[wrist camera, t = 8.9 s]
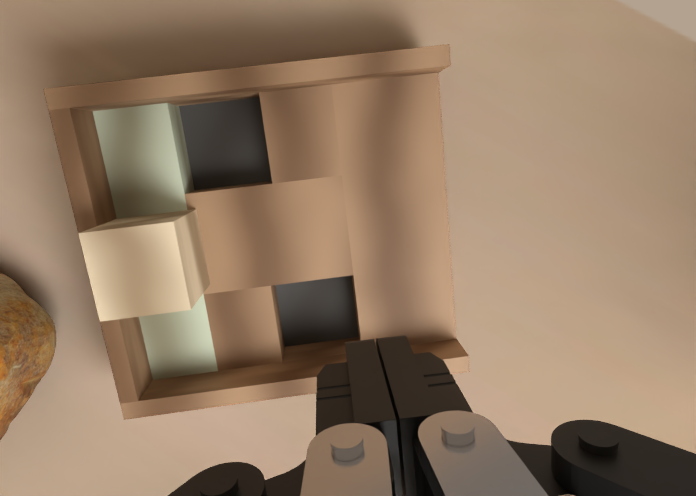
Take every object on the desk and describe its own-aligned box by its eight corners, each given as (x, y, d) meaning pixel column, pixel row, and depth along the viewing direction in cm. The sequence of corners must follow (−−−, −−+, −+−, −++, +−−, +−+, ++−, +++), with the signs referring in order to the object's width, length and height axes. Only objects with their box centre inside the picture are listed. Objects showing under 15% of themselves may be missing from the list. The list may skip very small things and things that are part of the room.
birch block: (196, 209, 27) (173, 221, 23) (210, 283, 28) (191, 309, 24) (116, 218, 27) (78, 233, 23) (133, 293, 28) (100, 321, 24)
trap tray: (426, 61, 29) (449, 44, 24) (446, 337, 33) (469, 371, 28) (90, 98, 28) (43, 88, 23) (153, 377, 32) (124, 419, 27)
